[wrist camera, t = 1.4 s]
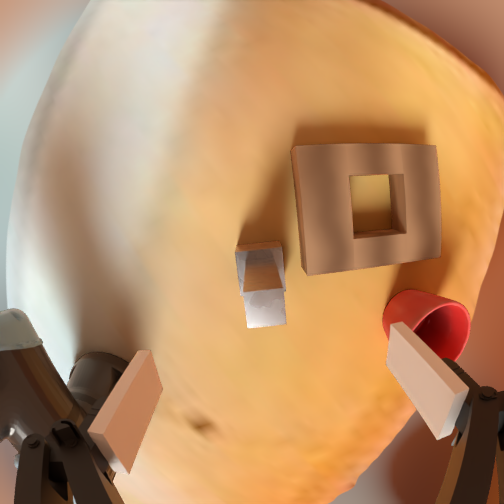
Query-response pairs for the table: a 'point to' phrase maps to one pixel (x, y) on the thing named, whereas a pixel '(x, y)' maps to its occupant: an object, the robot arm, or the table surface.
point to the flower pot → (431, 321)
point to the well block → (340, 210)
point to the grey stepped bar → (262, 283)
